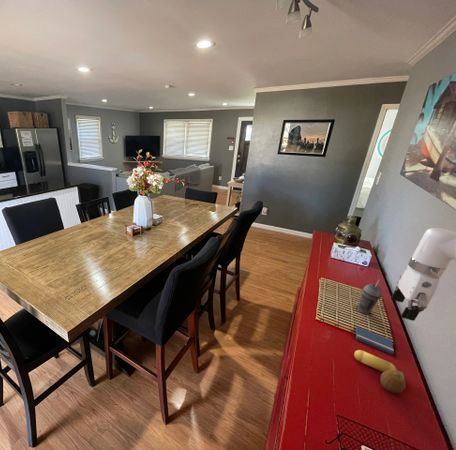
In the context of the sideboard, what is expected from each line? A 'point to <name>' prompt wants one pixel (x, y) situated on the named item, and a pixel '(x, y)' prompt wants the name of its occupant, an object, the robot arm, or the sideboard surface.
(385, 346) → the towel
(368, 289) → the beverage cup
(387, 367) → the corn cob
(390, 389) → the fruit
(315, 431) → the sideboard surface
